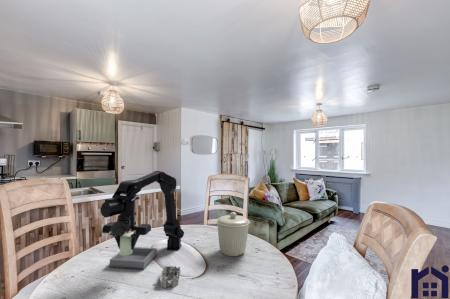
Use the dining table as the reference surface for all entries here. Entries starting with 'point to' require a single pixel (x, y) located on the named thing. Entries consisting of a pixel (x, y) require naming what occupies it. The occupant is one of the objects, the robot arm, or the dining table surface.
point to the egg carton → (170, 276)
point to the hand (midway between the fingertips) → (126, 249)
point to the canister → (232, 234)
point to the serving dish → (134, 259)
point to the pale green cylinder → (125, 244)
